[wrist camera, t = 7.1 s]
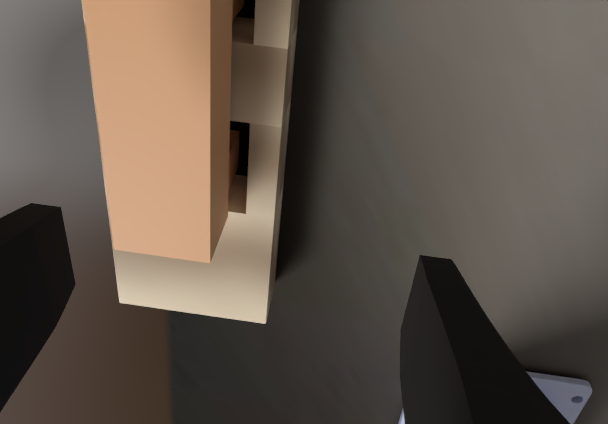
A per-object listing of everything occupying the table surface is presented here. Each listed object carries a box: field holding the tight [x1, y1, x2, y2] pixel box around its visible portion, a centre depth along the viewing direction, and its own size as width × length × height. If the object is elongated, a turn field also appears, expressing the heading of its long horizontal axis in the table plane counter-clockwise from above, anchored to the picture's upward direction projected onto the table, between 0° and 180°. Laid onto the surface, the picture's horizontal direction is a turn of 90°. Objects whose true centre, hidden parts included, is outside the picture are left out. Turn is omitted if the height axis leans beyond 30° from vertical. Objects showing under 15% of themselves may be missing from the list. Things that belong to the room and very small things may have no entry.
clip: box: [83, 0, 244, 263], centre depth 17 cm, size 8×3×6 cm, turn 175°
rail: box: [82, 0, 300, 324], centre depth 18 cm, size 20×6×2 cm, turn 175°
